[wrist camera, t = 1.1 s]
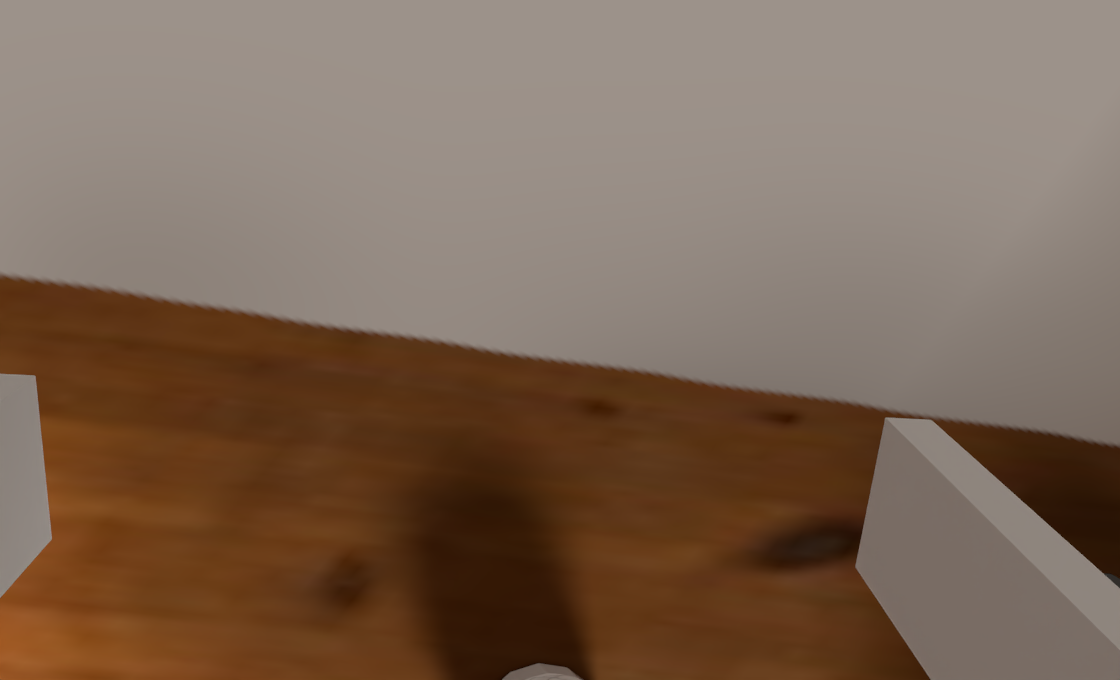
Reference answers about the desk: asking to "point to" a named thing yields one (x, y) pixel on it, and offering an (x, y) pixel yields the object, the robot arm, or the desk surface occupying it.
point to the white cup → (542, 673)
